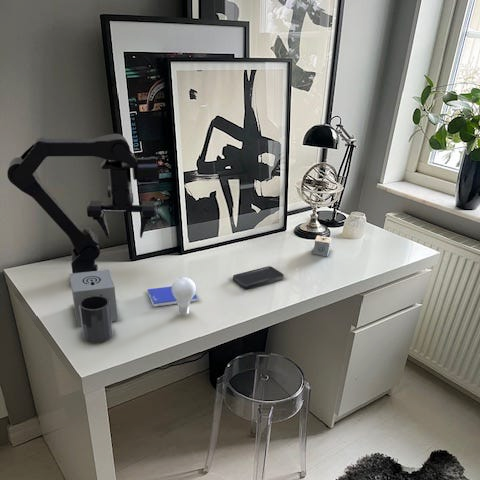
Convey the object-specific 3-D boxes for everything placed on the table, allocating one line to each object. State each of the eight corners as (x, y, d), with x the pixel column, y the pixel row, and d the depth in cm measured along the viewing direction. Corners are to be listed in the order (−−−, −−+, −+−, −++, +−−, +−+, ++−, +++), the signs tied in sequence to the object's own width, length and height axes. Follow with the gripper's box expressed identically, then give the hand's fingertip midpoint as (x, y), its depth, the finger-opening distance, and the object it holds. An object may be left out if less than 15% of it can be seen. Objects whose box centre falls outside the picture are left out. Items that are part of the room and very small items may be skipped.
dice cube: (329, 250, 176) (331, 237, 174) (327, 256, 172) (329, 243, 170) (315, 248, 177) (317, 235, 175) (313, 254, 173) (315, 240, 171)
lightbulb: (197, 320, 133) (198, 283, 127) (173, 322, 132) (173, 285, 126) (193, 307, 138) (193, 272, 132) (170, 309, 137) (169, 273, 131)
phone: (231, 275, 153) (270, 265, 161) (231, 278, 154) (270, 268, 161) (246, 286, 148) (285, 275, 155) (245, 289, 149) (285, 278, 156)
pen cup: (81, 343, 121) (77, 310, 116) (84, 328, 127) (80, 295, 122) (111, 342, 122) (108, 309, 117) (113, 327, 128) (110, 294, 123)
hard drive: (153, 302, 136) (197, 296, 140) (147, 288, 143) (189, 283, 147) (153, 307, 137) (197, 301, 141) (147, 293, 144) (189, 288, 148)
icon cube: (117, 320, 131) (114, 287, 125) (77, 326, 127) (73, 292, 122) (111, 301, 138) (108, 269, 133) (74, 306, 135) (69, 273, 130)
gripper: (155, 175, 144) (157, 226, 152) (88, 174, 141) (94, 226, 150) (155, 187, 134) (157, 241, 143) (83, 187, 132) (90, 241, 140)
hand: (124, 237), depth 144 cm, fingers open, 9 cm apart
